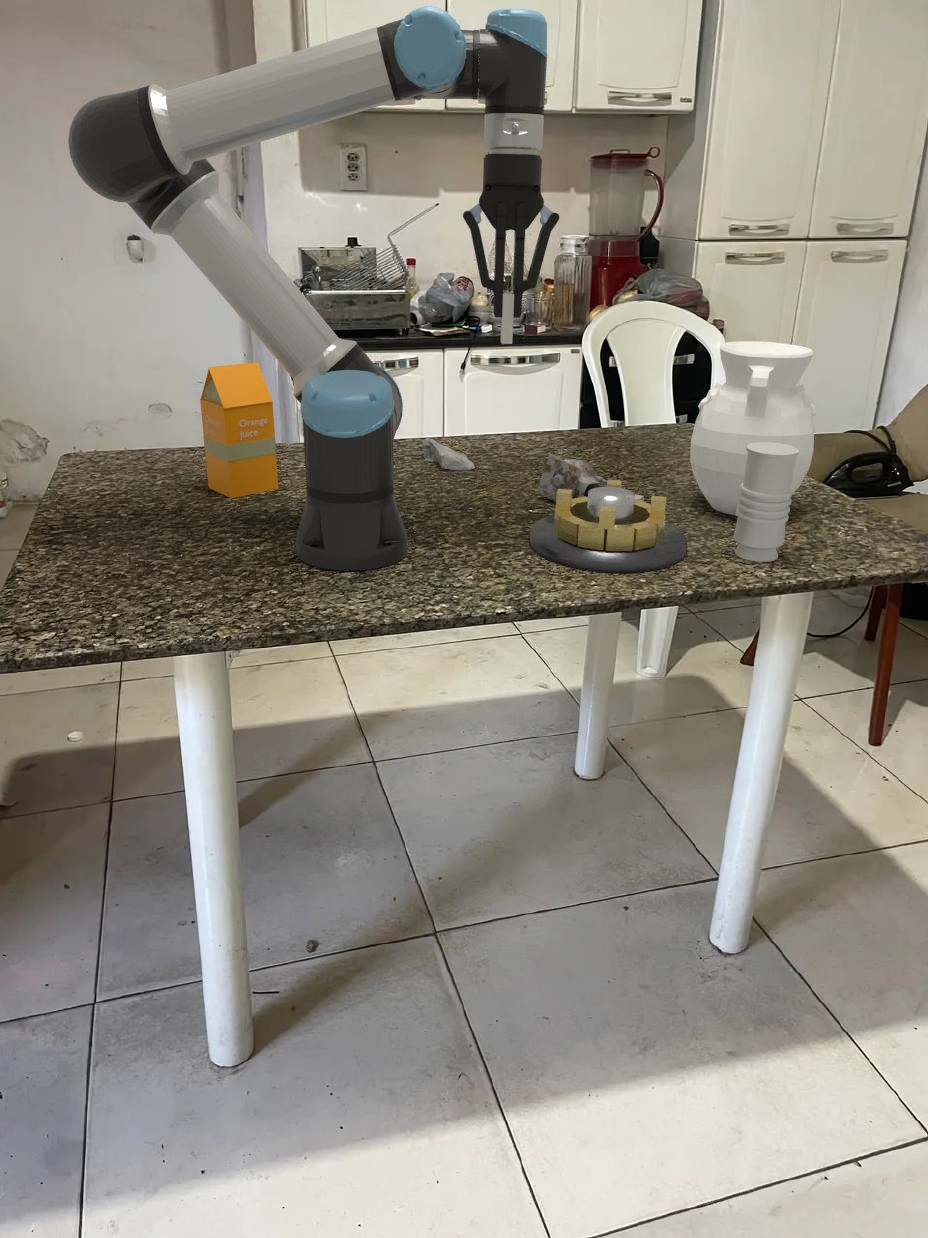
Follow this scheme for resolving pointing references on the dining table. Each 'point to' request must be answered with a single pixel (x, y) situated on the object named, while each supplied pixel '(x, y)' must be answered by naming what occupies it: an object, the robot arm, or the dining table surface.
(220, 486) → the orange juice
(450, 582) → the dining table surface
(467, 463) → the mineral specimen
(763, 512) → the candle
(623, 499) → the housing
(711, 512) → the dining table surface
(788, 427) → the pitcher
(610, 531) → the ring nut
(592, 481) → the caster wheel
